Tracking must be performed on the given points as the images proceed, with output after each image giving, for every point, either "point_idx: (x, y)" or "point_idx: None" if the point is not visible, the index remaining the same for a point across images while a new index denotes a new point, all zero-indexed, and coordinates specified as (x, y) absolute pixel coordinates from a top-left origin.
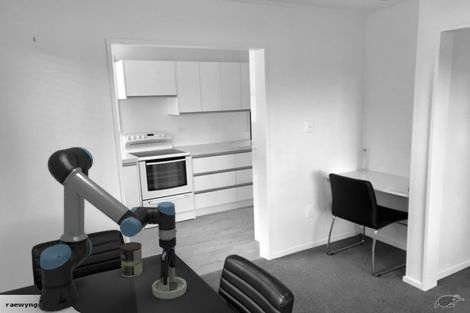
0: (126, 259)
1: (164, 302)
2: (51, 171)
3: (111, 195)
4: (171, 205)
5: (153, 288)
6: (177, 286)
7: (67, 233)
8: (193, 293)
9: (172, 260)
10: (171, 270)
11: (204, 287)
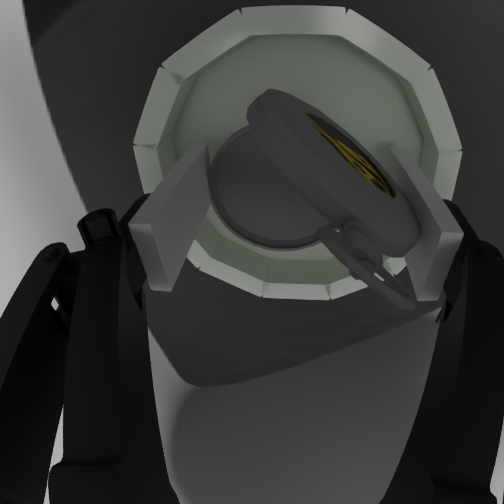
0: None
1: (129, 173)
2: None
3: None
4: None
5: (183, 52)
6: (279, 248)
7: None
8: (277, 304)
9: (416, 420)
10: (419, 249)
11: (349, 337)
